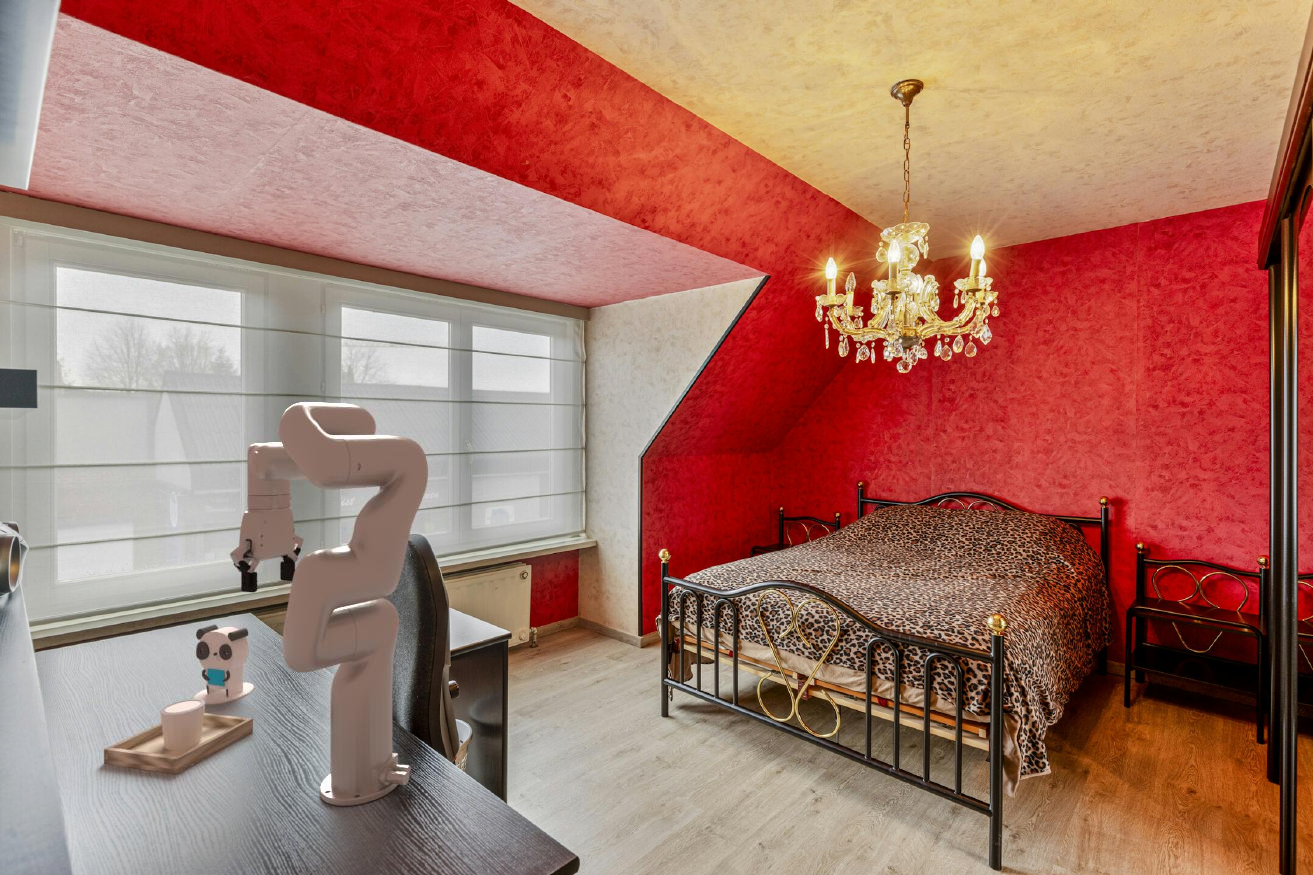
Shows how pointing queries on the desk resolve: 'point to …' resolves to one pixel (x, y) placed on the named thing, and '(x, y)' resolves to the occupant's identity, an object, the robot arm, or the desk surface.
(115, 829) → the desk surface
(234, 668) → the panda figurine
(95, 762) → the desk surface
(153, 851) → the desk surface
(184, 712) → the white cup
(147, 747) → the tray
